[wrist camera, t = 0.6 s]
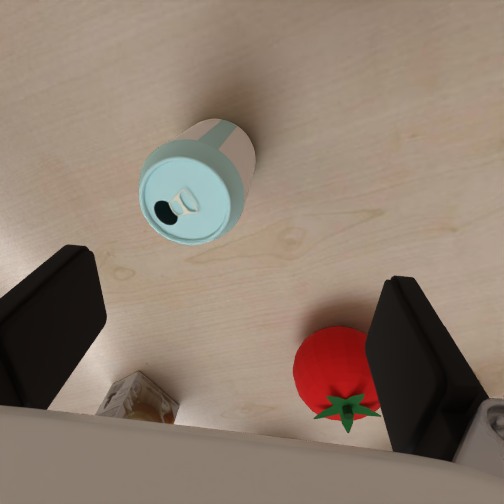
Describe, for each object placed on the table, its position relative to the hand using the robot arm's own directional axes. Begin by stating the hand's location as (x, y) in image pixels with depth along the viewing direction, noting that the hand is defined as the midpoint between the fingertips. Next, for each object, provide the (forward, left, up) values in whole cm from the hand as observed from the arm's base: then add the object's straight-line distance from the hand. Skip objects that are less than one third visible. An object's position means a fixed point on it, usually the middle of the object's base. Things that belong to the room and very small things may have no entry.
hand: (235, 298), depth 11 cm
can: (+1, -4, -22) cm, 23 cm away
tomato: (+22, +11, -22) cm, 33 cm away
